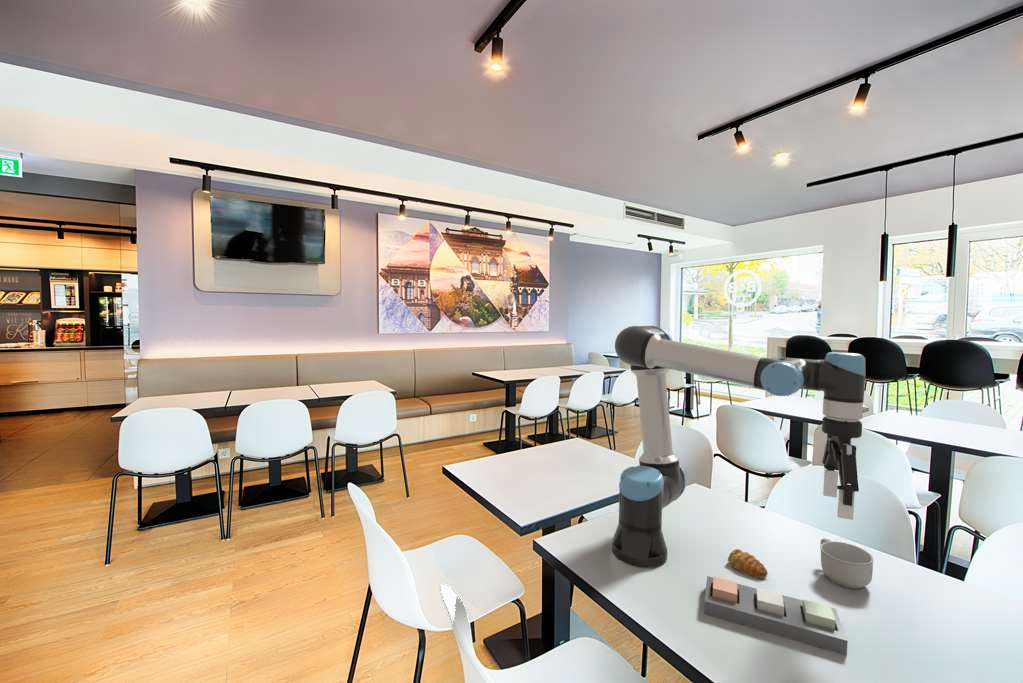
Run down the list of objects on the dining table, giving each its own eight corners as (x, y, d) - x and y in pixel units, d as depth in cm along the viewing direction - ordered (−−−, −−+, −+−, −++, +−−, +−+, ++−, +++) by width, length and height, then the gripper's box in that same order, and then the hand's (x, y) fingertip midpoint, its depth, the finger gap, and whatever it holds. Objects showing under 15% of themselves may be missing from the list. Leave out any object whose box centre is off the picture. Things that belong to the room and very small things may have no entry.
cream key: (757, 610, 96) (757, 599, 96) (756, 598, 101) (756, 587, 101) (783, 618, 94) (784, 606, 94) (781, 604, 99) (782, 594, 99)
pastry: (773, 576, 114) (774, 562, 114) (756, 583, 111) (757, 568, 111) (740, 558, 123) (741, 545, 122) (724, 564, 119) (724, 551, 119)
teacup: (881, 597, 106) (883, 565, 105) (831, 591, 108) (833, 559, 108) (849, 565, 119) (851, 537, 119) (805, 560, 122) (807, 532, 121)
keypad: (704, 613, 99) (704, 601, 98) (706, 587, 108) (707, 575, 108) (846, 655, 87) (847, 640, 87) (835, 621, 97) (835, 608, 97)
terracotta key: (712, 598, 100) (712, 588, 100) (713, 586, 105) (713, 576, 105) (736, 605, 98) (737, 594, 98) (736, 593, 103) (737, 582, 103)
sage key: (806, 624, 92) (806, 612, 92) (802, 610, 97) (803, 599, 97) (834, 632, 90) (835, 620, 90) (830, 617, 95) (830, 606, 95)
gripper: (881, 432, 90) (874, 532, 91) (846, 410, 113) (841, 490, 114) (836, 427, 93) (831, 525, 94) (811, 407, 116) (807, 485, 117)
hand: (837, 506), depth 104 cm, fingers open, 13 cm apart
